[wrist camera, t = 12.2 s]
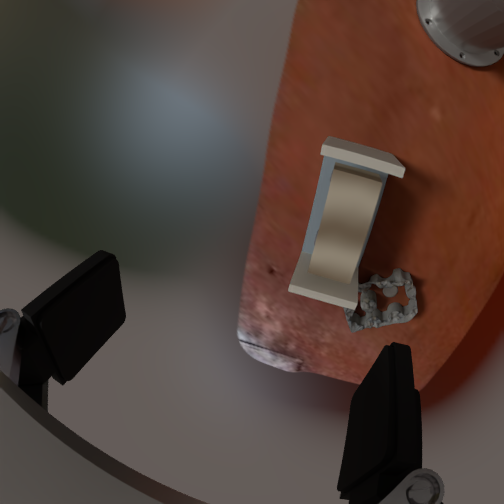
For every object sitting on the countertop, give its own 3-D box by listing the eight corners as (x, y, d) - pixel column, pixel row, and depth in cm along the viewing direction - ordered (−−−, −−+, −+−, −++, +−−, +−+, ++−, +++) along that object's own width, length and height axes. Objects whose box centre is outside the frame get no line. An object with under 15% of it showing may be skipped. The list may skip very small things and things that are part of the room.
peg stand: (328, 135, 33) (322, 144, 26) (392, 154, 32) (405, 168, 24) (301, 254, 42) (287, 291, 34) (356, 270, 40) (354, 310, 33)
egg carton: (410, 262, 37) (415, 278, 34) (416, 306, 40) (420, 323, 36) (338, 278, 42) (336, 294, 38) (349, 319, 44) (348, 336, 41)
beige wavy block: (335, 161, 31) (333, 168, 28) (378, 174, 30) (382, 182, 27) (311, 256, 37) (307, 272, 34) (350, 266, 36) (349, 284, 33)
